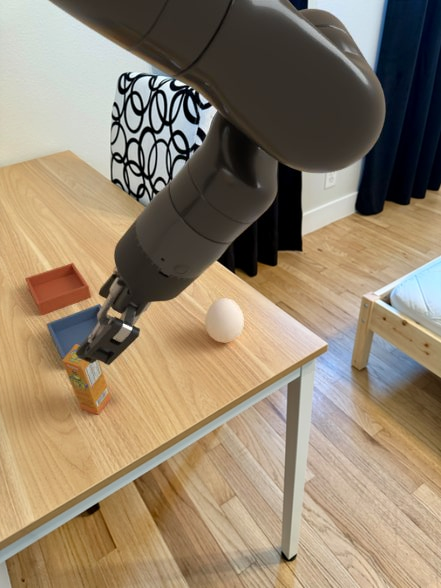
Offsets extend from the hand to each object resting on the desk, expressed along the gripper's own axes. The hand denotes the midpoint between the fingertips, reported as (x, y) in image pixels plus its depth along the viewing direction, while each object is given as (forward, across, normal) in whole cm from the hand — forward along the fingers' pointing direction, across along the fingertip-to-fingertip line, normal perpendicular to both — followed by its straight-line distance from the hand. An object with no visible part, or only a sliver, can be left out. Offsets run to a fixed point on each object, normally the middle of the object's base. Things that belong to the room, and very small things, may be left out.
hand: (96, 324), depth 48 cm
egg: (+6, -13, +22) cm, 26 cm away
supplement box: (+15, +1, +8) cm, 17 cm away
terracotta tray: (+27, -23, -2) cm, 36 cm away
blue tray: (+20, -11, +4) cm, 23 cm away
